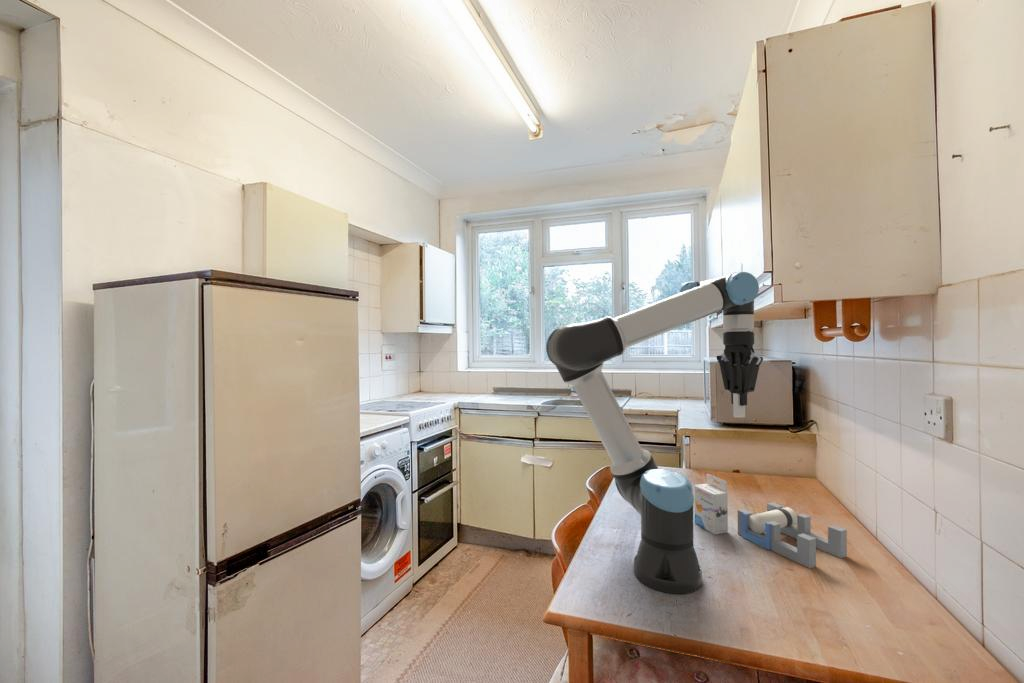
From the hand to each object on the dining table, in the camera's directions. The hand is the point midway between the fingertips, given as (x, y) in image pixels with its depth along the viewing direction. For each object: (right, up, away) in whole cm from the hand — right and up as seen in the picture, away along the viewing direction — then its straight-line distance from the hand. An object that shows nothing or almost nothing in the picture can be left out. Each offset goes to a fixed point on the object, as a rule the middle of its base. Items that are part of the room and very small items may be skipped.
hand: (739, 416), depth 116 cm
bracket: (+13, -34, -1) cm, 37 cm away
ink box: (-3, -35, +9) cm, 36 cm away
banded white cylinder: (+11, -32, +2) cm, 34 cm away
